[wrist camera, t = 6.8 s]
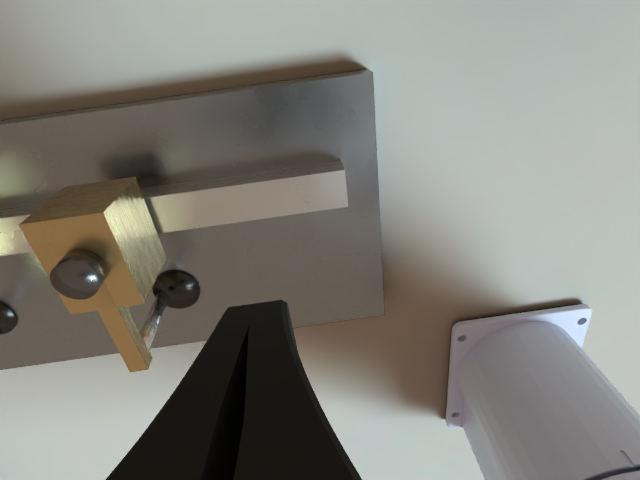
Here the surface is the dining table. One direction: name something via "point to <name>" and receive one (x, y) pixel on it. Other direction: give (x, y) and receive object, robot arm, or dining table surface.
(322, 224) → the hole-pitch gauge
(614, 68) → the dining table surface
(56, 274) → the sliding leg
